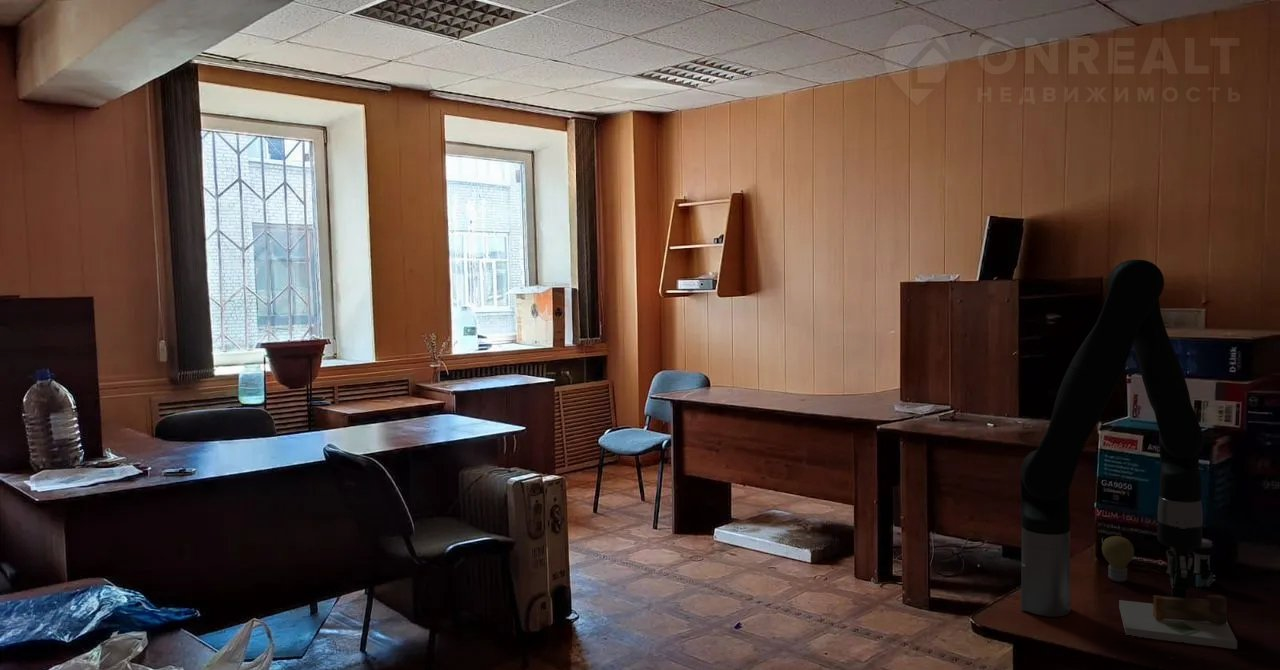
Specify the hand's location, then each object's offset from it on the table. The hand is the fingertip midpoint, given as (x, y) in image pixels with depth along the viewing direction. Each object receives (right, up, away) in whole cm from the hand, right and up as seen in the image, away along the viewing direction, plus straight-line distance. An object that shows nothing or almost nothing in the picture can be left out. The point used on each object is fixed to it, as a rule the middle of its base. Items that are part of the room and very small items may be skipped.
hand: (1178, 605), depth 173 cm
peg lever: (0, -2, -3) cm, 3 cm away
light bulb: (+1, -2, +24) cm, 24 cm away
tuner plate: (-2, -4, -1) cm, 4 cm away
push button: (+18, -2, +20) cm, 27 cm away
